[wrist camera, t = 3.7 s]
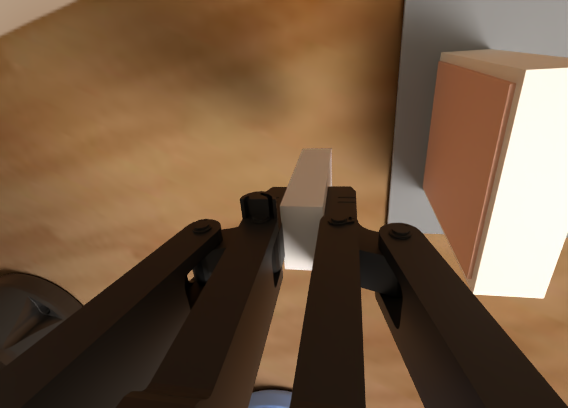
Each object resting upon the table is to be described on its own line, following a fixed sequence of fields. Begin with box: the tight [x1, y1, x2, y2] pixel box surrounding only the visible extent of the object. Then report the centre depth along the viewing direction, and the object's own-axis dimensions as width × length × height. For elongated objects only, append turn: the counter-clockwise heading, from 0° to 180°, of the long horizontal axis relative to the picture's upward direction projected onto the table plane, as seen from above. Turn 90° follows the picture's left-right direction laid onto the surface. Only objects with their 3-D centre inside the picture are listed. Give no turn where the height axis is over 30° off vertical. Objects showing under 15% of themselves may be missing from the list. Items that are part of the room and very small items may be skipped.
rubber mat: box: [387, 0, 568, 237], centre depth 23 cm, size 20×18×1 cm
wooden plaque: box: [423, 49, 568, 298], centre depth 19 cm, size 3×10×12 cm, turn 4°
